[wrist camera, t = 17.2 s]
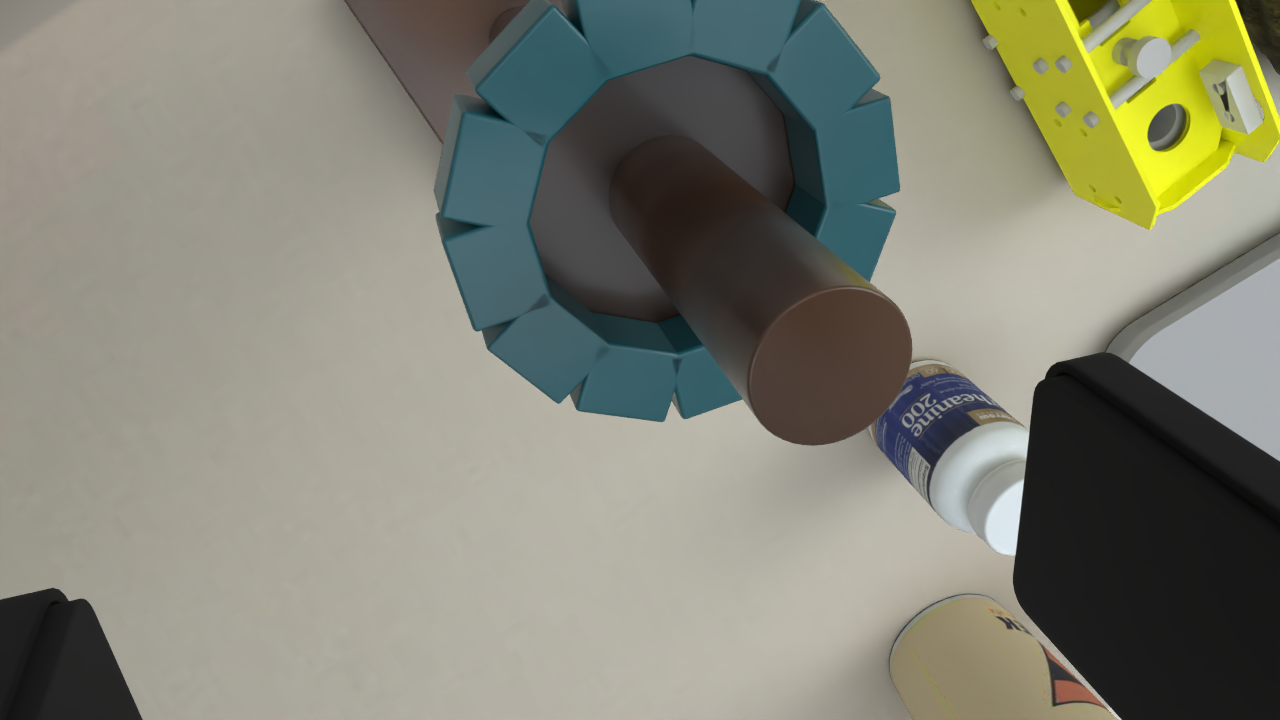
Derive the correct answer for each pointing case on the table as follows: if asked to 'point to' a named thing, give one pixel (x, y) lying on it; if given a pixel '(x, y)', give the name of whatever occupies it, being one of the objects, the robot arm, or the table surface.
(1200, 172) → the yellow toy chassis
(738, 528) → the table surface
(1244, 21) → the rock
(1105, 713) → the beige lidded canister
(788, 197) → the stand
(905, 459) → the pill bottle
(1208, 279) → the tablet
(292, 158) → the table surface
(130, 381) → the table surface
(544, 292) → the ring
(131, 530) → the table surface
